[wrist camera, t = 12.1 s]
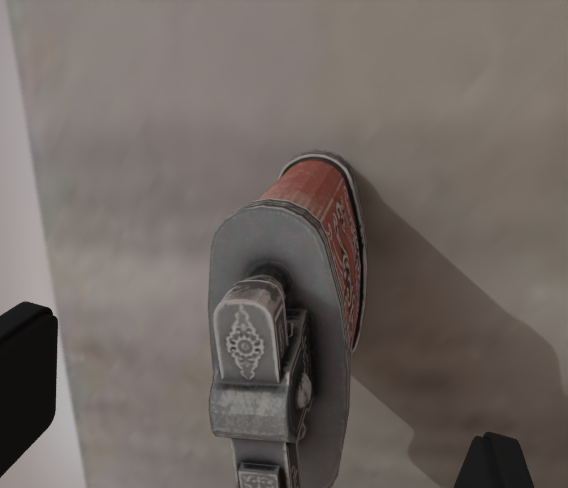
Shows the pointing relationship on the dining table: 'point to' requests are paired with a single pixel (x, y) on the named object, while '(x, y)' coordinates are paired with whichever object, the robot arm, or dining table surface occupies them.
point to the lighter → (288, 324)
